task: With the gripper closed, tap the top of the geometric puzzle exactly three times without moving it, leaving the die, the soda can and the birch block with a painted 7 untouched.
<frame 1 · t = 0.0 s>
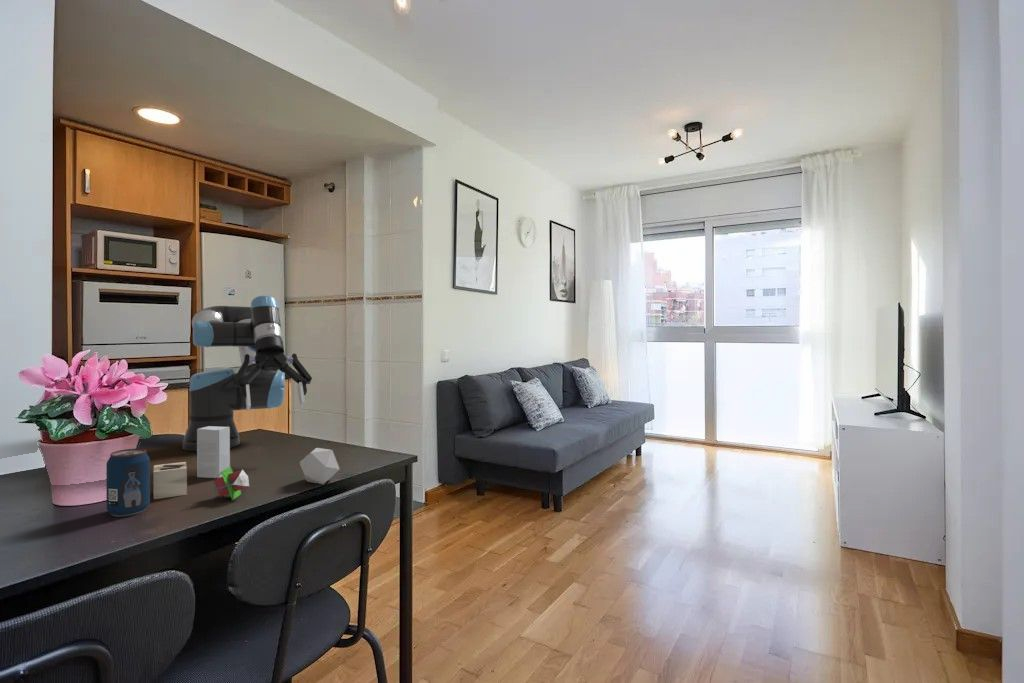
hand: (276, 406, 140), 15 cm above the table, tool tilted 35°, fingers open, 13 cm apart
soda can: (128, 512, 102), on the table
die: (319, 482, 124), on the table
geometric puzzle: (231, 498, 111), on the table
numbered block: (170, 493, 113), on the table
skincare box: (213, 476, 127), on the table
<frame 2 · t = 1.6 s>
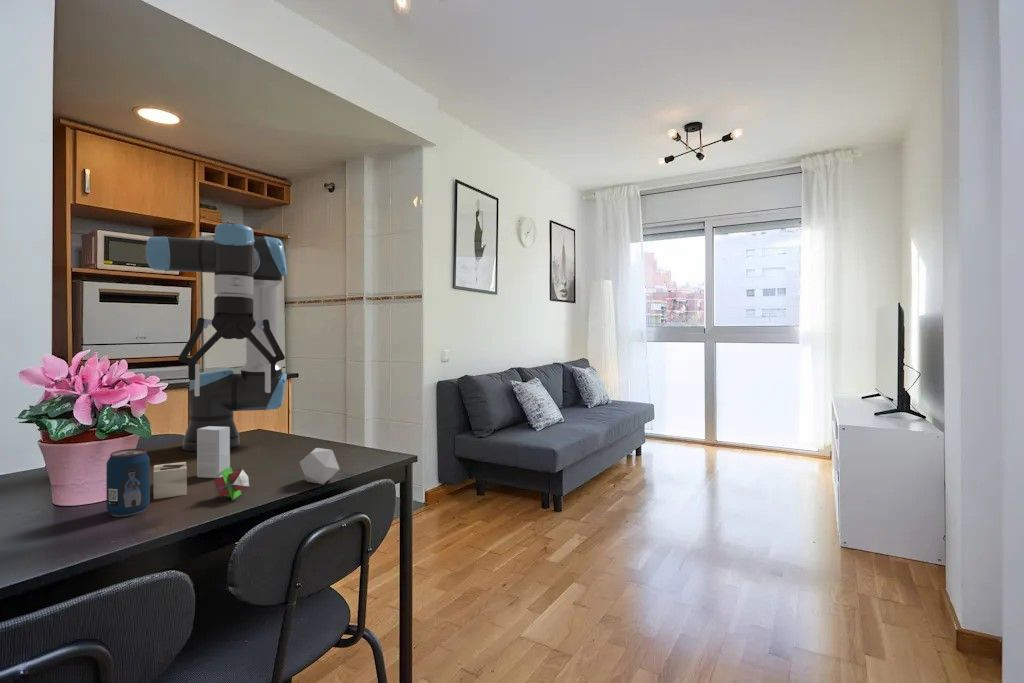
hand: (233, 394, 111), 23 cm above the table, tool pointing down, fingers open, 13 cm apart
nothing on the table moved.
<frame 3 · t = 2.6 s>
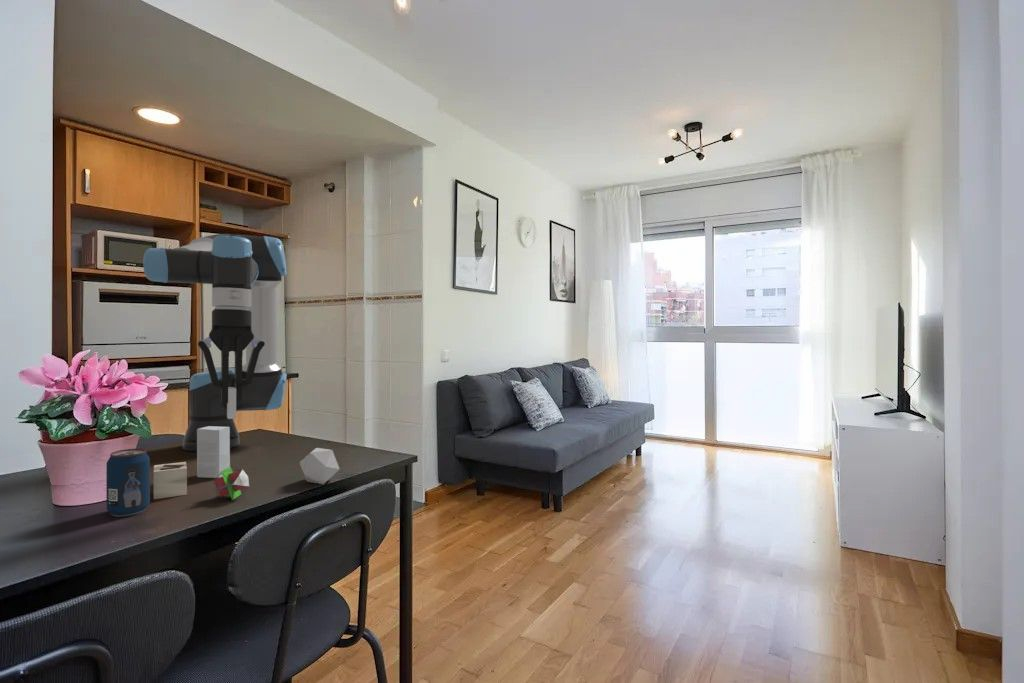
hand: (231, 417, 110), 18 cm above the table, tool pointing down, fingers closed
nothing on the table moved.
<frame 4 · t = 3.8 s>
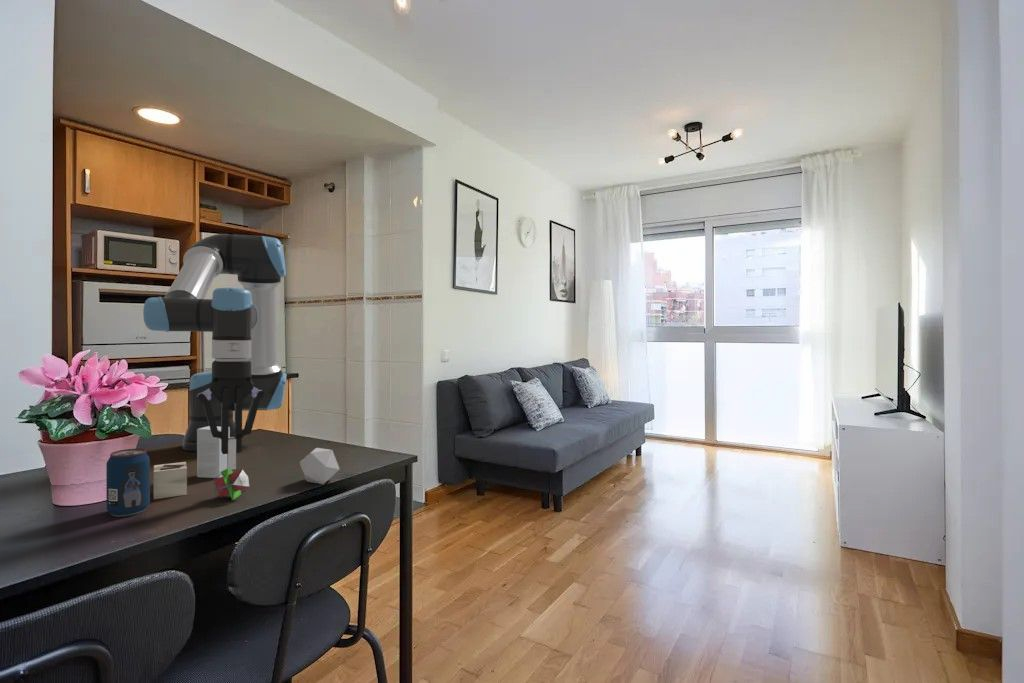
hand: (231, 467, 111), 6 cm above the table, tool pointing down, fingers closed
geometric puzzle: (231, 498, 111), on the table, touching gripper
everything else where it was.
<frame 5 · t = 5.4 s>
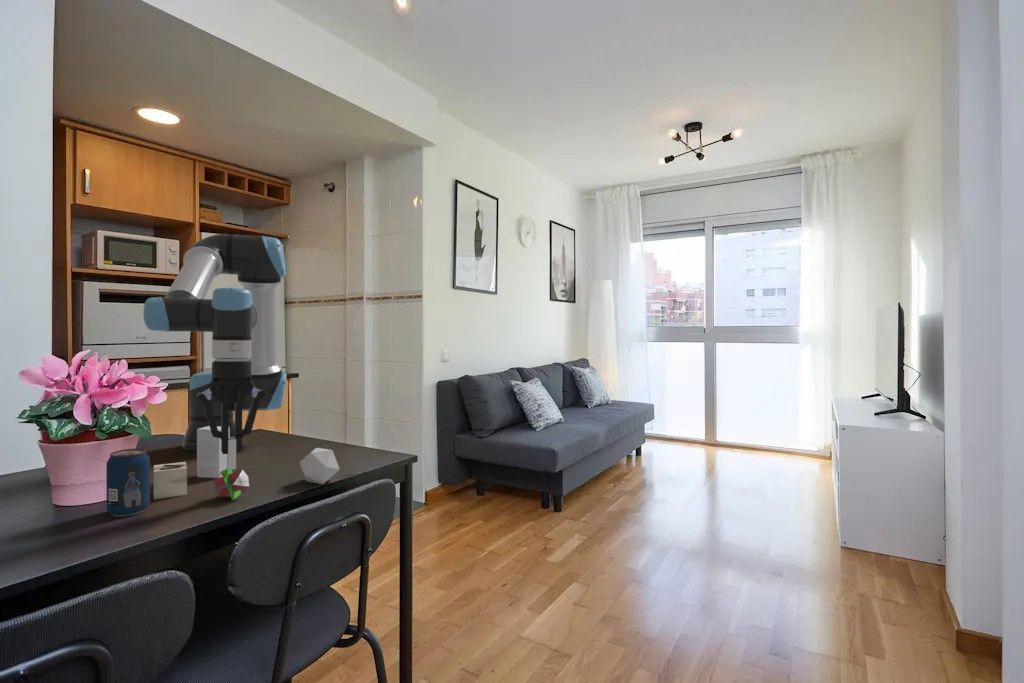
hand: (231, 467, 111), 6 cm above the table, tool pointing down, fingers closed
nothing on the table moved.
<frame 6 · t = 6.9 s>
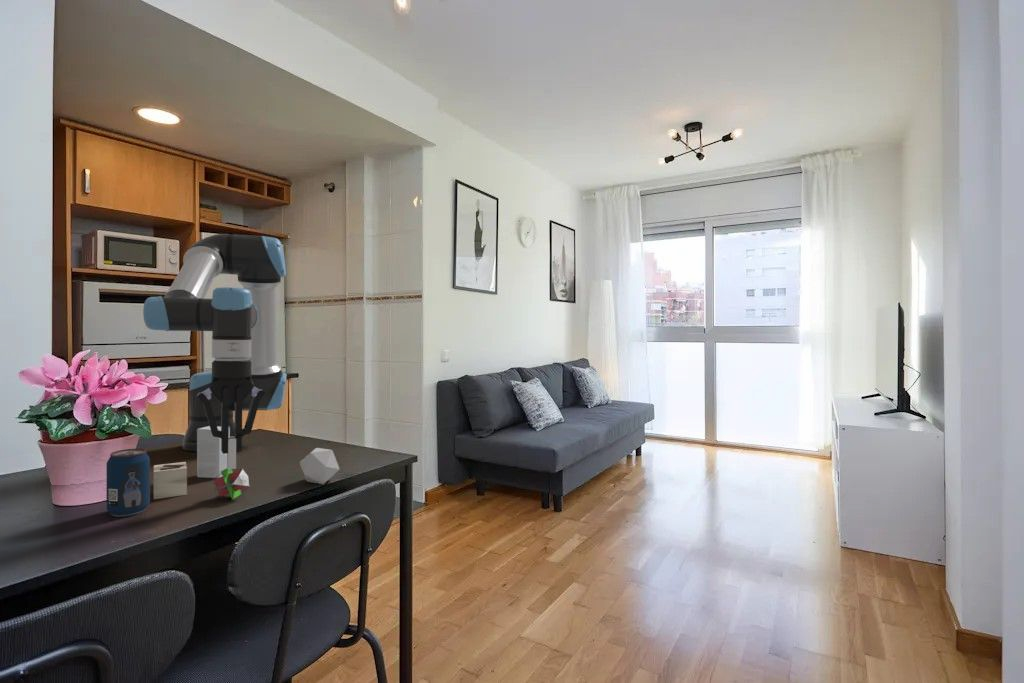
hand: (231, 467, 111), 7 cm above the table, tool pointing down, fingers closed
nothing on the table moved.
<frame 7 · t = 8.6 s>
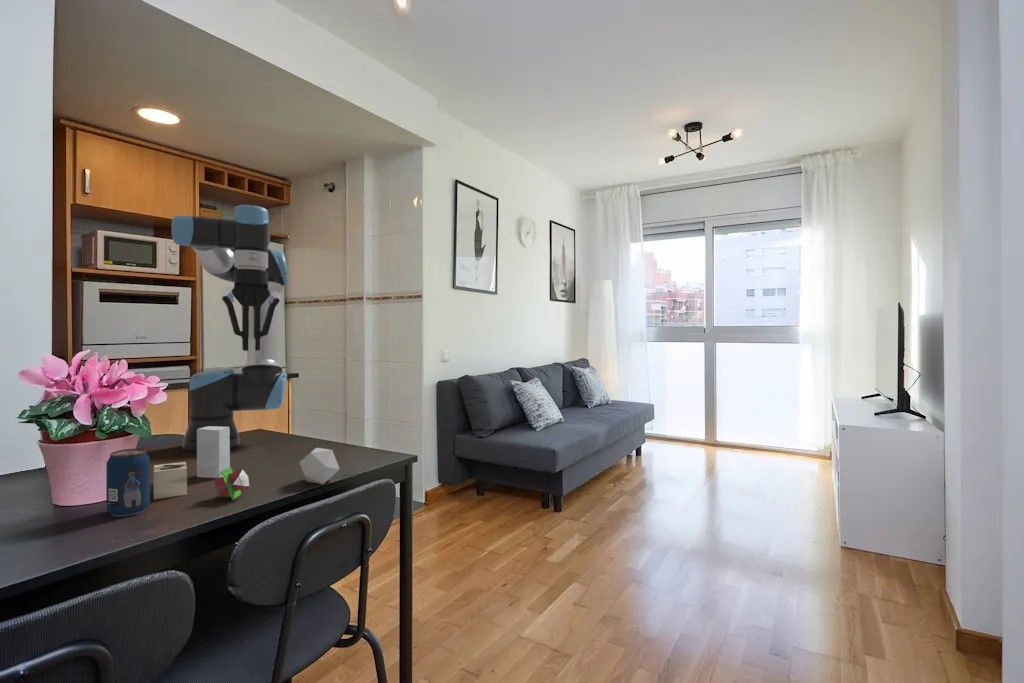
hand: (251, 363, 128), 28 cm above the table, tool pointing down, fingers closed
geometric puzzle: (231, 498, 111), on the table
everything else where it was.
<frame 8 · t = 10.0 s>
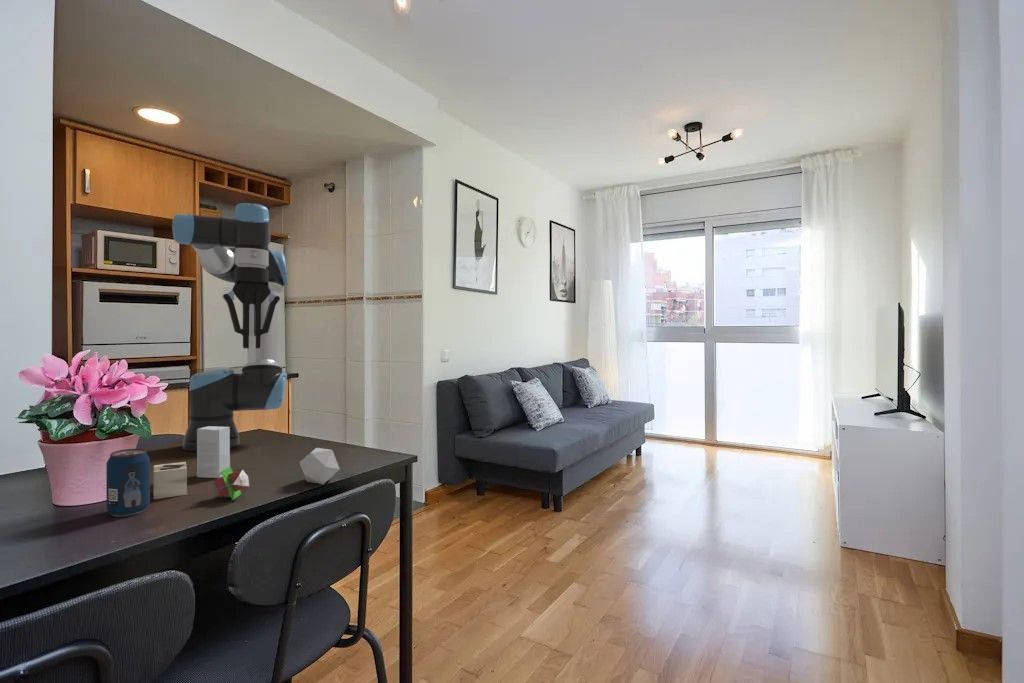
hand: (251, 361, 128), 28 cm above the table, tool pointing down, fingers closed
nothing on the table moved.
at the end: geometric puzzle moved 0.3 cm from its start; geometric puzzle tilted 0°; soda can moved 0.2 cm from its start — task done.
